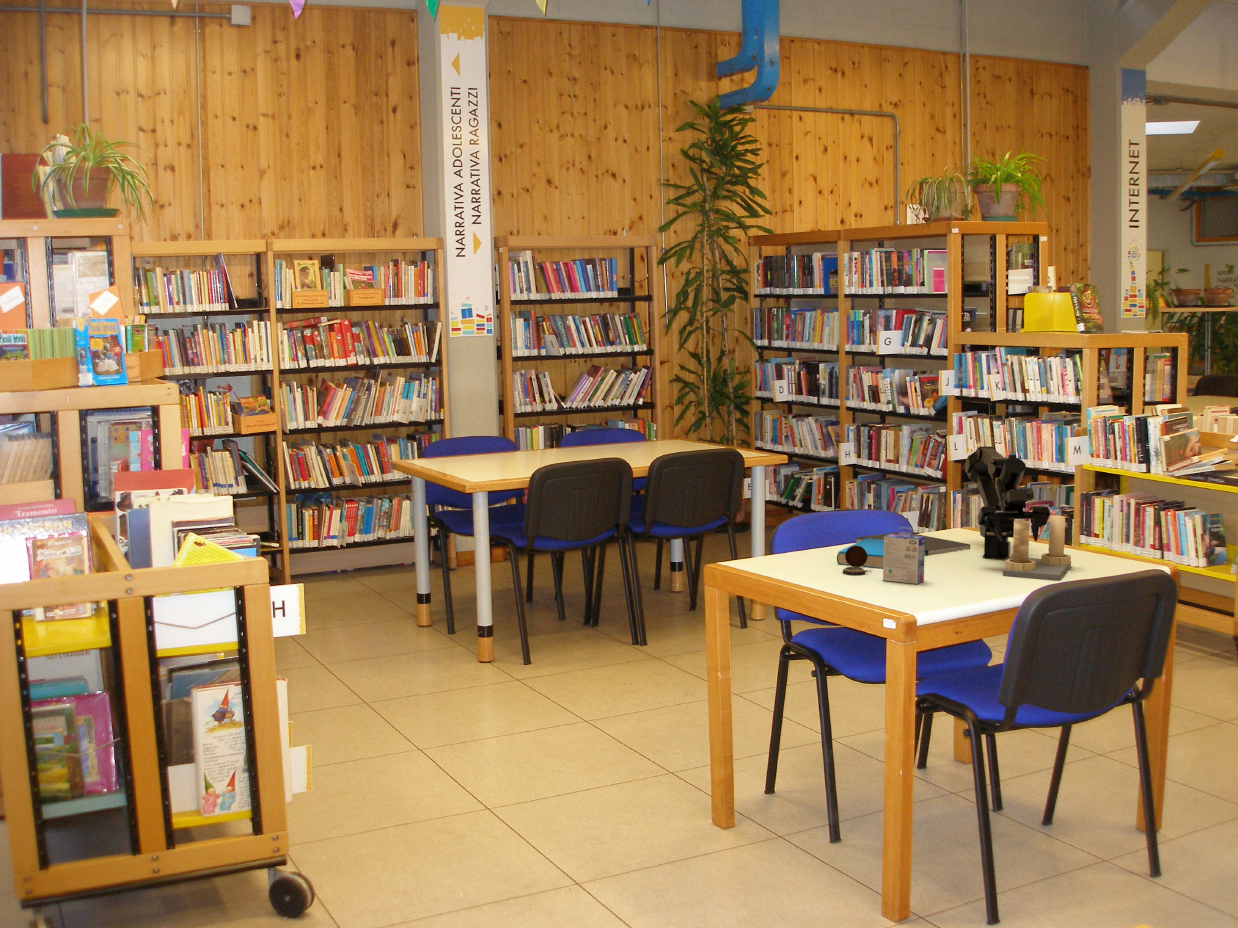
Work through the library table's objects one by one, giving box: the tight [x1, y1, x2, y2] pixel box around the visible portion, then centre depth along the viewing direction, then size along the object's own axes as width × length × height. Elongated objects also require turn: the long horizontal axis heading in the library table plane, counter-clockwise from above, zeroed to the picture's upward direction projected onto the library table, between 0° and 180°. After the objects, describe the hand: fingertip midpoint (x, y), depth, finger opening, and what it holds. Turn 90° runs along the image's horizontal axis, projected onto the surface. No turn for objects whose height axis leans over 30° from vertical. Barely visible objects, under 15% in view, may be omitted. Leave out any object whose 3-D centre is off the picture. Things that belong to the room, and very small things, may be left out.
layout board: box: [1002, 515, 1072, 582], centre depth 325 cm, size 15×22×14 cm
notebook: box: [855, 531, 971, 557], centre depth 365 cm, size 22×2×28 cm
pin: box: [1012, 519, 1030, 563], centre depth 321 cm, size 4×4×13 cm
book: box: [836, 538, 884, 570], centre depth 344 cm, size 17×4×25 cm
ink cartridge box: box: [882, 525, 925, 585], centre depth 313 cm, size 10×6×14 cm, turn 58°
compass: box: [842, 545, 873, 576], centre depth 325 cm, size 8×8×7 cm
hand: (1019, 540), depth 323 cm, fingers open, 9 cm apart
